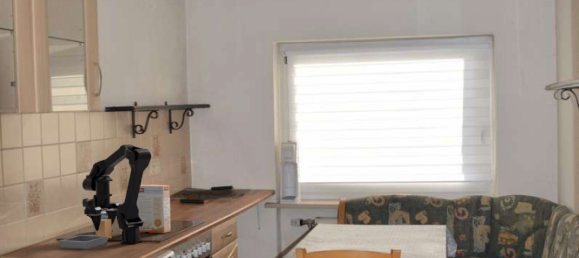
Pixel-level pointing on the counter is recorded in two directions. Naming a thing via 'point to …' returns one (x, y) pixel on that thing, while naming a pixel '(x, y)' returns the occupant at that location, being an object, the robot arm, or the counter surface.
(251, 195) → the counter surface
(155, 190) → the cracker box
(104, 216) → the medicine box
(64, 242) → the block holder
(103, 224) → the plain tan block
